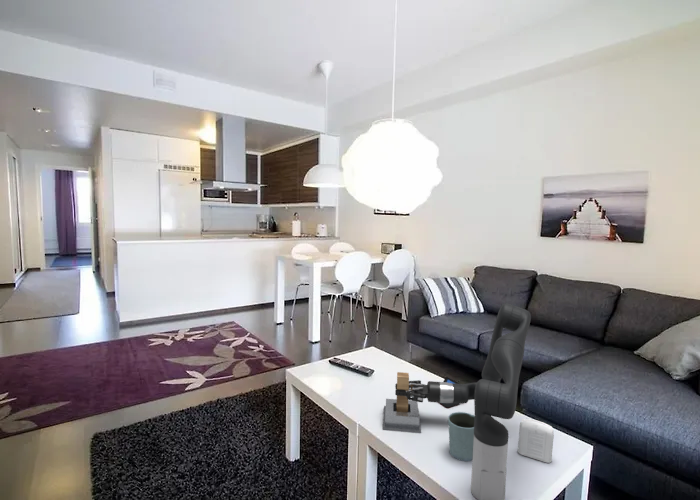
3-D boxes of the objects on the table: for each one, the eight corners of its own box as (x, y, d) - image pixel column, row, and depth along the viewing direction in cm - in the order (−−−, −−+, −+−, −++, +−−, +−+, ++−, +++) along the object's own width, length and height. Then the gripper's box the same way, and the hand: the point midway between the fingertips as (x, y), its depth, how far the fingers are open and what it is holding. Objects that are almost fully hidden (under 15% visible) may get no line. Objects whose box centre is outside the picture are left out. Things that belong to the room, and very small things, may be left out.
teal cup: (481, 451, 128) (483, 417, 127) (473, 467, 119) (475, 431, 118) (452, 440, 133) (453, 408, 132) (442, 455, 125) (443, 421, 124)
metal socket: (421, 433, 138) (421, 420, 137) (382, 429, 139) (383, 416, 139) (418, 410, 153) (418, 399, 153) (384, 408, 155) (384, 396, 155)
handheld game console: (427, 396, 166) (427, 380, 166) (445, 391, 172) (446, 375, 171) (446, 409, 155) (447, 392, 155) (465, 403, 161) (466, 387, 160)
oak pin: (407, 412, 144) (408, 377, 142) (396, 411, 144) (397, 376, 143) (407, 406, 148) (408, 372, 147) (396, 406, 149) (397, 372, 147)
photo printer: (551, 457, 125) (554, 422, 124) (551, 465, 121) (554, 428, 120) (518, 448, 130) (520, 414, 129) (517, 454, 126) (519, 419, 125)
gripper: (438, 374, 150) (395, 372, 152) (442, 391, 136) (395, 388, 138) (437, 392, 151) (395, 389, 153) (442, 411, 137) (395, 407, 139)
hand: (395, 389), depth 146 cm, fingers closed on oak pin, 4 cm apart
